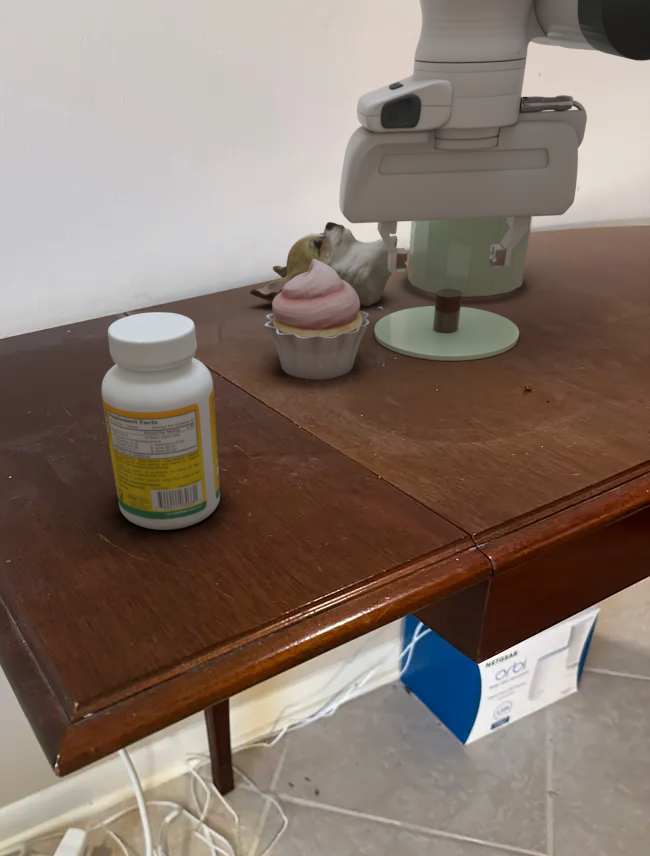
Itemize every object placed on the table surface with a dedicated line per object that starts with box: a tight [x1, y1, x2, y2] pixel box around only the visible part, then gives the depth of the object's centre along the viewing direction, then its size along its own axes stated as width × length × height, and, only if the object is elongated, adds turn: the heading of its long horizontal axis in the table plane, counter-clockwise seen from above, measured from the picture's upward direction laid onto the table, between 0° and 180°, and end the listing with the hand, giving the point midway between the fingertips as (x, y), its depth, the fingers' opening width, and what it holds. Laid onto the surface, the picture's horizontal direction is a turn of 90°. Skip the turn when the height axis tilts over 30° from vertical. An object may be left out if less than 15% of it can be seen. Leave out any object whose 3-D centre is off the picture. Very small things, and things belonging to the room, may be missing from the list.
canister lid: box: [373, 289, 520, 362], centre depth 77 cm, size 14×14×5 cm
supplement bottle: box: [100, 311, 221, 531], centre depth 52 cm, size 7×7×13 cm
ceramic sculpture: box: [248, 221, 398, 307], centre depth 87 cm, size 11×9×15 cm
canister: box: [407, 216, 534, 298], centre depth 90 cm, size 13×13×10 cm
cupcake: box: [264, 259, 370, 381], centre depth 71 cm, size 9×9×10 cm
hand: (447, 268), depth 75 cm, fingers open, 8 cm apart
